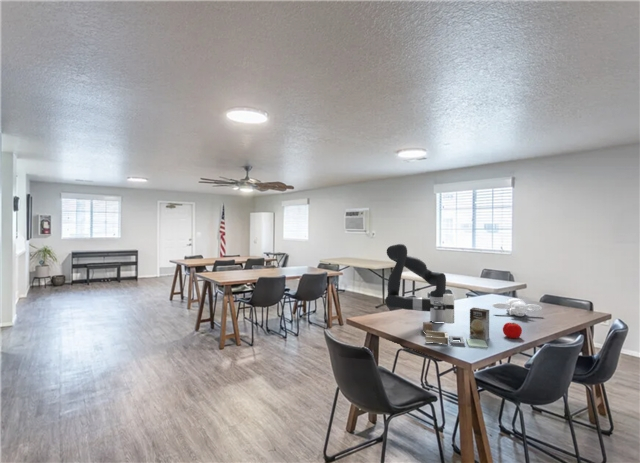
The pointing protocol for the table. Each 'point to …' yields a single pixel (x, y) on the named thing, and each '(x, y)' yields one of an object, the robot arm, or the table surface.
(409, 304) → the robot arm
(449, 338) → the hole plate
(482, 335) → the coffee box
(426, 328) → the walnut block
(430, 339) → the cubby
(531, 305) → the white quadcopter drone
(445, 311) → the white tall block
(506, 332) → the tomato
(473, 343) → the pad
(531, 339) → the table surface
